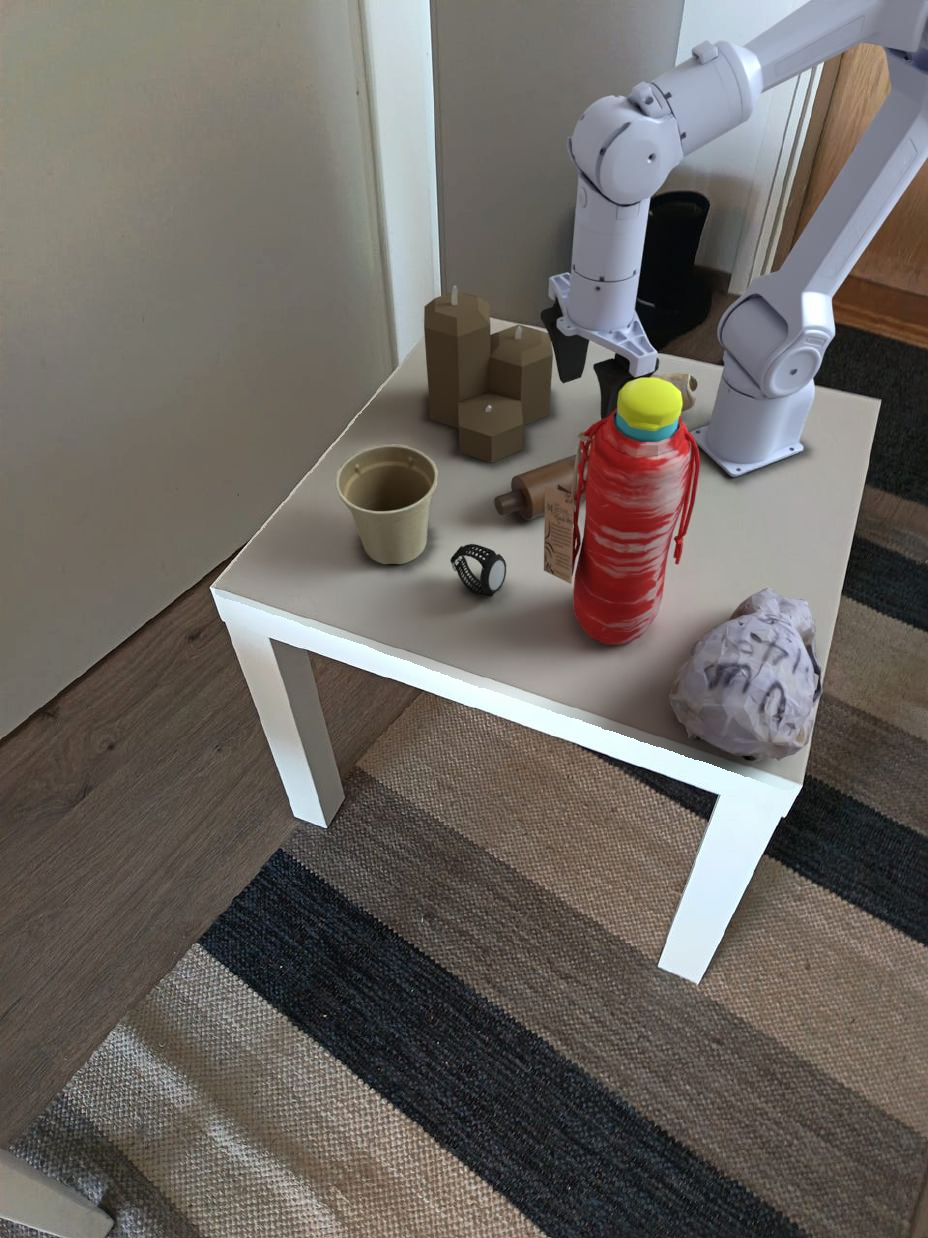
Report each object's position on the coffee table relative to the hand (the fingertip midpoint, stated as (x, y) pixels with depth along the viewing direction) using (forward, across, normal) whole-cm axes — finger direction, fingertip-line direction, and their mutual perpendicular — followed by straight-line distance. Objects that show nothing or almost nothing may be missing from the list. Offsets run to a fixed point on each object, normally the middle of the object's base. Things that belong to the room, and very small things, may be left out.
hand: (591, 399), depth 82 cm
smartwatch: (+11, +8, -16) cm, 21 cm away
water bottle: (+11, +16, -8) cm, 21 cm away
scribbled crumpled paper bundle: (+11, +30, -2) cm, 32 cm away
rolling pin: (+8, +1, -3) cm, 9 cm away
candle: (+11, -15, -4) cm, 19 cm away
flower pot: (+11, -1, -21) cm, 24 cm away
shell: (+11, -7, +14) cm, 19 cm away
